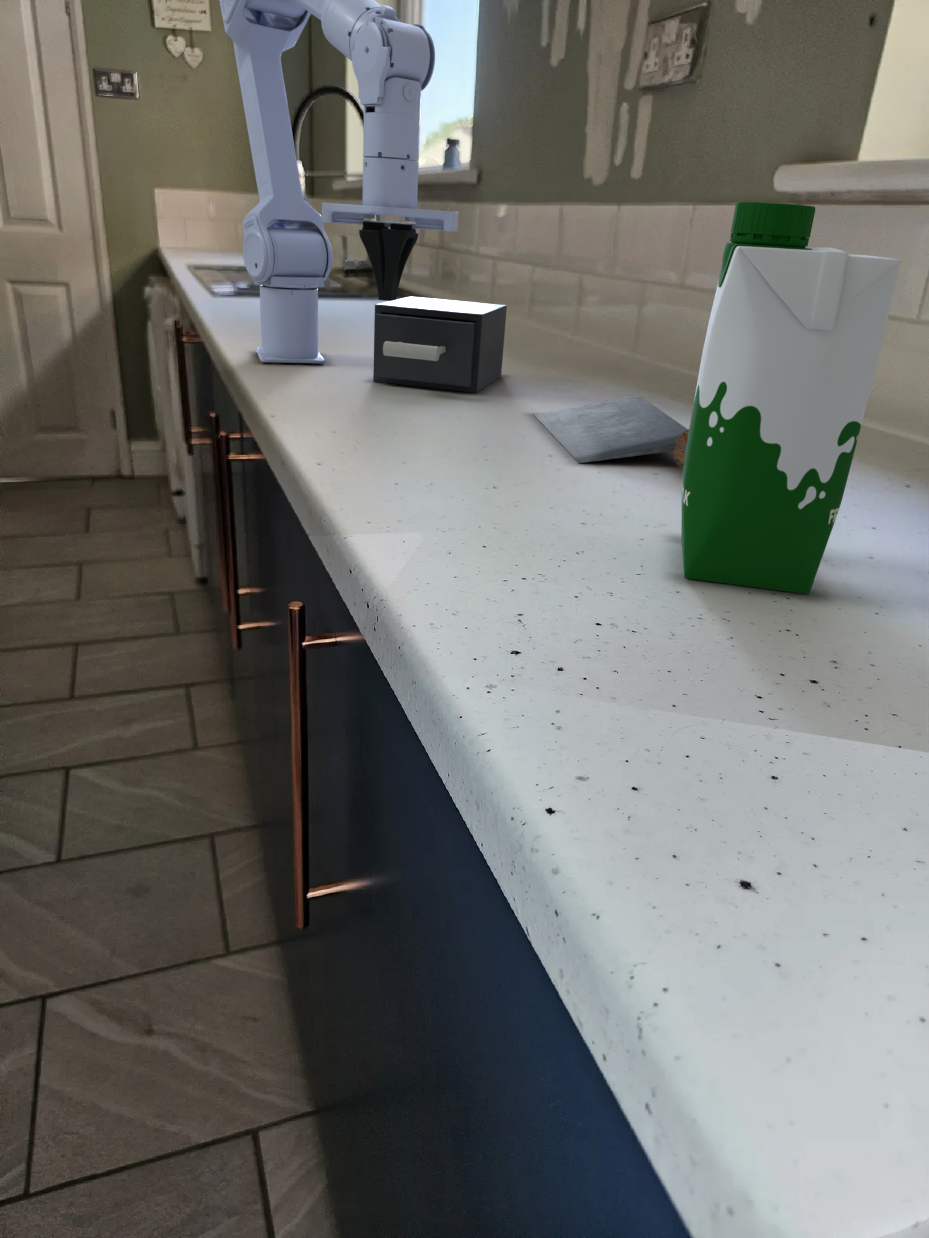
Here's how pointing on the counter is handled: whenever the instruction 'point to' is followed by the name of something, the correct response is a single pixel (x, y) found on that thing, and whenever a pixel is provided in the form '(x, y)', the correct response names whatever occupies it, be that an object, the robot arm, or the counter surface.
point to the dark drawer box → (424, 349)
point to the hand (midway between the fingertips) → (387, 300)
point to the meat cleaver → (616, 430)
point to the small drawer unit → (485, 340)
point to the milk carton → (779, 399)
